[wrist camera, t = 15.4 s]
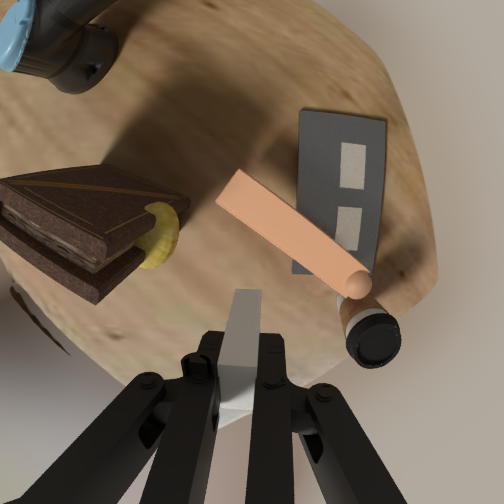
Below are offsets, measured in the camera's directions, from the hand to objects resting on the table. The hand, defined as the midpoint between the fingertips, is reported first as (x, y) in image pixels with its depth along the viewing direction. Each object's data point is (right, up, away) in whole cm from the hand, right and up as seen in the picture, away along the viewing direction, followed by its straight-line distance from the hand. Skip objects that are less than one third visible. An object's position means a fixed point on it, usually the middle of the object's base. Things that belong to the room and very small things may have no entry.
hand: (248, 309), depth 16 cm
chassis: (+14, +12, +25) cm, 31 cm away
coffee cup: (+18, -5, +31) cm, 36 cm away
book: (-18, +13, +27) cm, 35 cm away
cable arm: (+7, +5, +20) cm, 22 cm away
